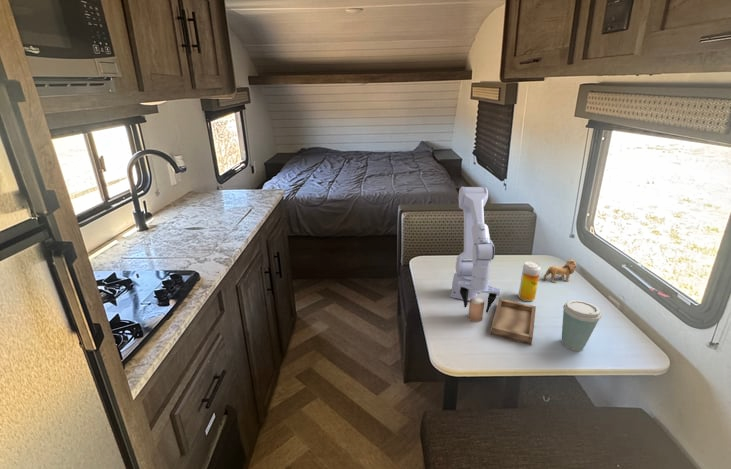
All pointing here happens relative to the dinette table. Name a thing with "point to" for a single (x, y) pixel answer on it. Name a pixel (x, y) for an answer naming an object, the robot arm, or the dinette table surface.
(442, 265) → the dinette table surface
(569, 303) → the disposable coffee cup
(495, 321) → the tray
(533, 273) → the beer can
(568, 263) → the lion figurine
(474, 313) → the tan and white cylinder
